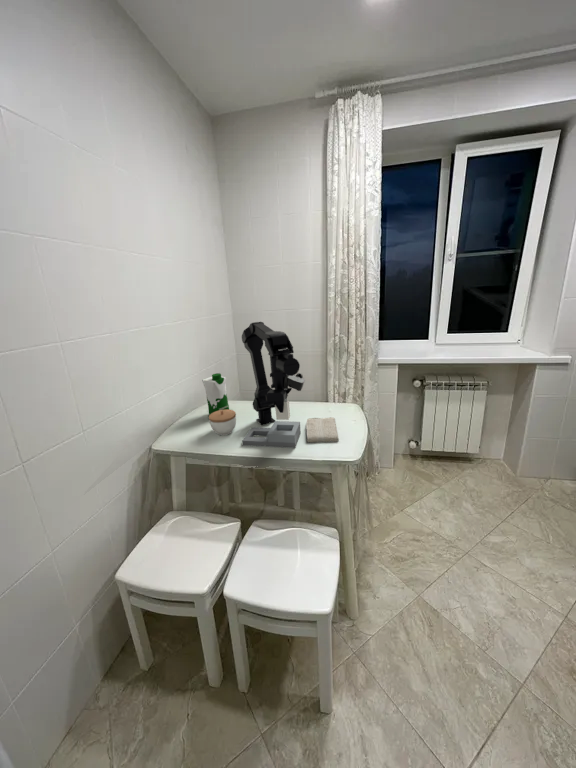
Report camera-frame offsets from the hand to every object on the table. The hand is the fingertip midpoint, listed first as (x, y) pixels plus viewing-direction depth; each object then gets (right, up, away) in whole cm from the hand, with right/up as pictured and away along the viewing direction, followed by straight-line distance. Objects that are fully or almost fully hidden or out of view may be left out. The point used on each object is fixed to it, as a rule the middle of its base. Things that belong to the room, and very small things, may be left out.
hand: (282, 410), depth 107 cm
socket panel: (-4, -11, +5) cm, 13 cm away
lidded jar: (-24, -10, +14) cm, 30 cm away
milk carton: (-30, -5, +31) cm, 44 cm away
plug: (0, -3, +1) cm, 3 cm away
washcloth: (+15, -10, +8) cm, 20 cm away
